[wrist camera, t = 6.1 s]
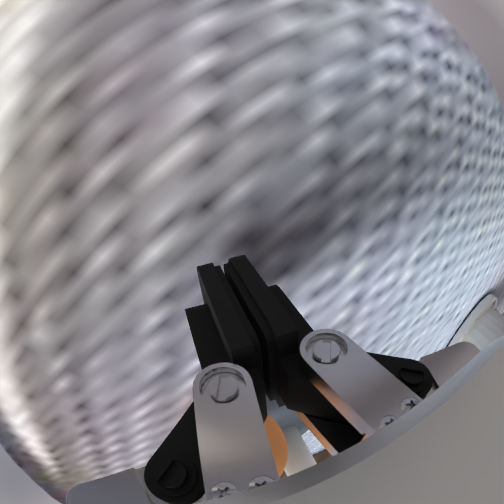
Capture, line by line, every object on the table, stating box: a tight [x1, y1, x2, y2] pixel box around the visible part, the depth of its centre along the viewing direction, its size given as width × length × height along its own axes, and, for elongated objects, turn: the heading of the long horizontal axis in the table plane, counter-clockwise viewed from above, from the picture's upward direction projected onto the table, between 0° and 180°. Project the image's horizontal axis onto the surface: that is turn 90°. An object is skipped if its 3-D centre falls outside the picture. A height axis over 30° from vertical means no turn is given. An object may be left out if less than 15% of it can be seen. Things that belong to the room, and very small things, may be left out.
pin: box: [282, 426, 317, 476], centre depth 16 cm, size 2×2×9 cm
